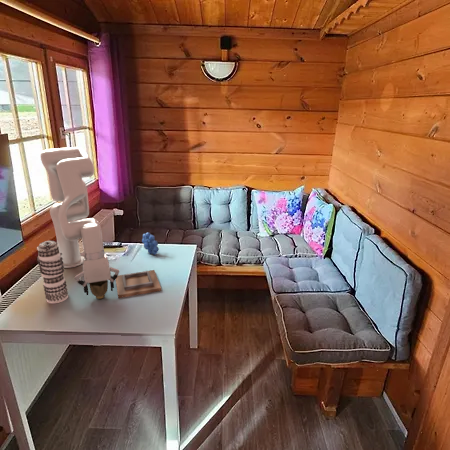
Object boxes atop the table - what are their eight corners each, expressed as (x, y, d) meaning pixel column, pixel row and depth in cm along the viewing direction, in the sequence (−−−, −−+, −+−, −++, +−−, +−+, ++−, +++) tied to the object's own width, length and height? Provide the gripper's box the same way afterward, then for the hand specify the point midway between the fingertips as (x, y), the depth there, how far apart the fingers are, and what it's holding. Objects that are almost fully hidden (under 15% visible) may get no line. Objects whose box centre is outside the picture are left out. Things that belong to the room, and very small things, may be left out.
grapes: (137, 253, 190) (135, 232, 185) (147, 249, 195) (145, 229, 191) (152, 259, 183) (150, 237, 179) (161, 254, 188) (160, 233, 184)
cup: (92, 304, 143) (89, 287, 140) (89, 295, 149) (87, 279, 147) (111, 299, 146) (109, 282, 144) (108, 291, 153) (105, 275, 150)
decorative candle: (45, 295, 150) (34, 240, 141) (69, 290, 153) (60, 237, 145) (44, 306, 142) (33, 249, 133) (69, 301, 145) (59, 245, 137)
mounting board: (118, 298, 147) (117, 292, 146) (115, 278, 163) (114, 272, 162) (161, 290, 153) (160, 284, 152) (154, 272, 169) (154, 266, 168)
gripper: (70, 261, 135) (77, 300, 140) (117, 254, 140) (122, 292, 146) (71, 253, 141) (77, 291, 147) (116, 247, 147) (120, 283, 153)
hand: (99, 291), depth 146 cm, fingers open, 9 cm apart
